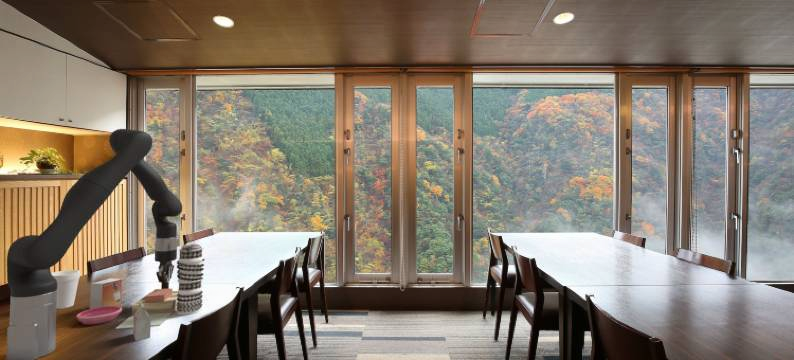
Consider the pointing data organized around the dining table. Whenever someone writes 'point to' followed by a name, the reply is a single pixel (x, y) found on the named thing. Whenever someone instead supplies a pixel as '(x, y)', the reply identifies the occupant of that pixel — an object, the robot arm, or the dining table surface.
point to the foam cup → (66, 287)
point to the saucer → (99, 315)
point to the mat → (155, 318)
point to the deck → (158, 305)
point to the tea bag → (141, 323)
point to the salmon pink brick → (159, 295)
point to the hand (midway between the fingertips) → (165, 291)
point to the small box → (106, 293)
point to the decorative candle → (190, 280)
